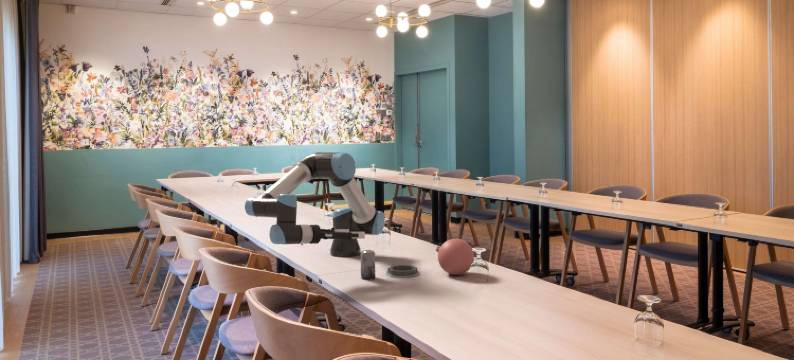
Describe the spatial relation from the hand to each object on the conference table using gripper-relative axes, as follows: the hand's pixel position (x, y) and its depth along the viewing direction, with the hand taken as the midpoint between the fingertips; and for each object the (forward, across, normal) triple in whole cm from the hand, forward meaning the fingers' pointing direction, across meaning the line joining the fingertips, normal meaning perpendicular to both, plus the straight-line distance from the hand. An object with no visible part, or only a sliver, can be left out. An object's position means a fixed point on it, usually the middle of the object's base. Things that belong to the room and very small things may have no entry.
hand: (356, 233), depth 256 cm
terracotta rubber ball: (+40, +14, -16) cm, 45 cm away
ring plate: (+23, +1, -17) cm, 28 cm away
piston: (+7, -1, -19) cm, 20 cm away
